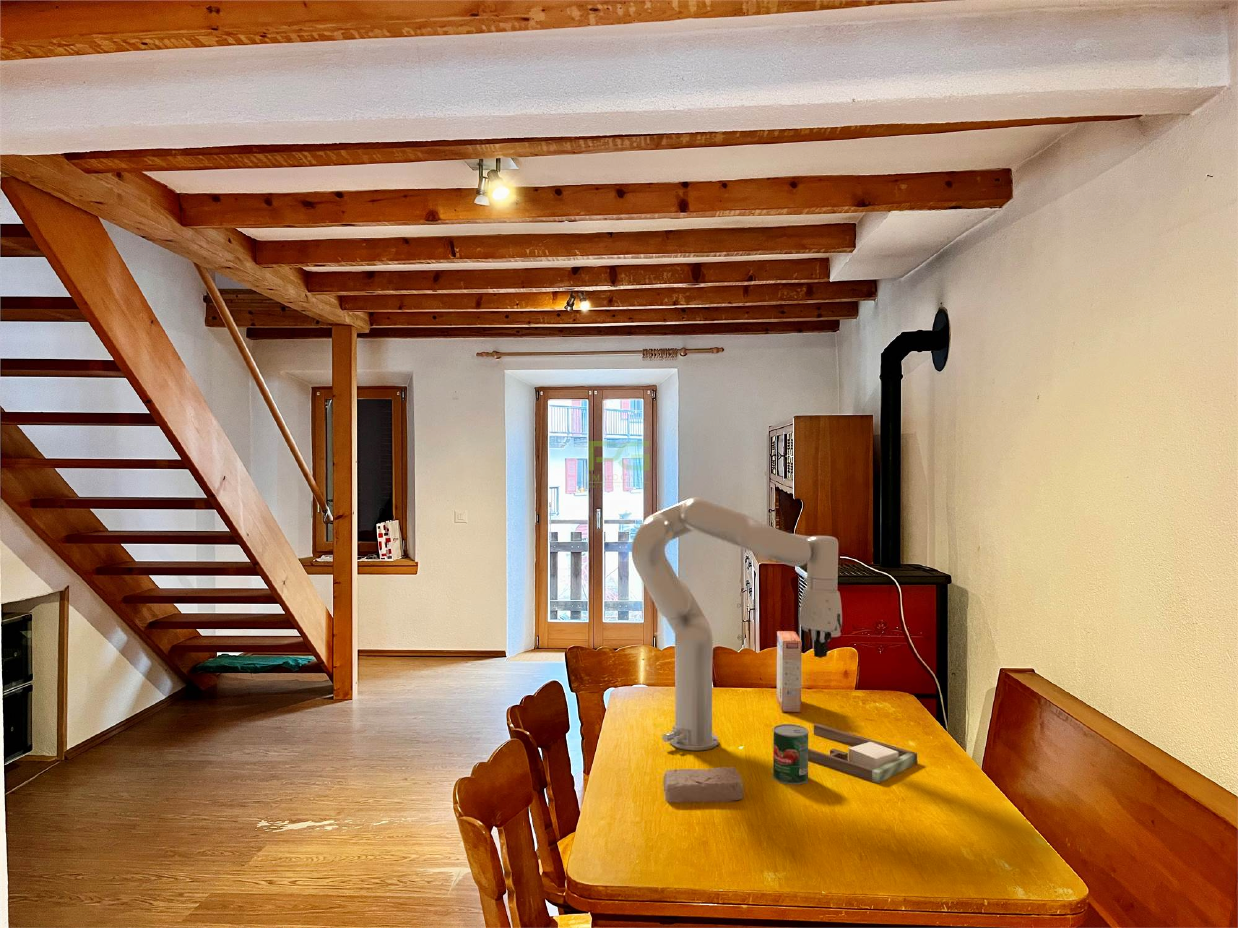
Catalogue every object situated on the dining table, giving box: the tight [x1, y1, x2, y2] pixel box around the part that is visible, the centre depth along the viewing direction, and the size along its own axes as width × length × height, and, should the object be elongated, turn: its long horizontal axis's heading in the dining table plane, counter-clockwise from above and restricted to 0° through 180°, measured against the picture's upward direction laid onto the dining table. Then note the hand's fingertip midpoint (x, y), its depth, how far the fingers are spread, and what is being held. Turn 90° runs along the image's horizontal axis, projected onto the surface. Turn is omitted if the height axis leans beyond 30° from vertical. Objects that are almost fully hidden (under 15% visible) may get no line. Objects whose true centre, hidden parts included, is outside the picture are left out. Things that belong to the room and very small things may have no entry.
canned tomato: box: [772, 723, 810, 786], centre depth 174 cm, size 8×8×11 cm
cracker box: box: [776, 630, 803, 713], centre depth 227 cm, size 14×6×21 cm, turn 174°
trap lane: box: [808, 723, 918, 784], centre depth 187 cm, size 18×28×2 cm, turn 42°
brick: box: [662, 766, 744, 804], centre depth 165 cm, size 17×8×5 cm, turn 93°
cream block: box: [848, 742, 898, 770], centre depth 181 cm, size 8×8×4 cm
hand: (820, 656), depth 194 cm, fingers closed
